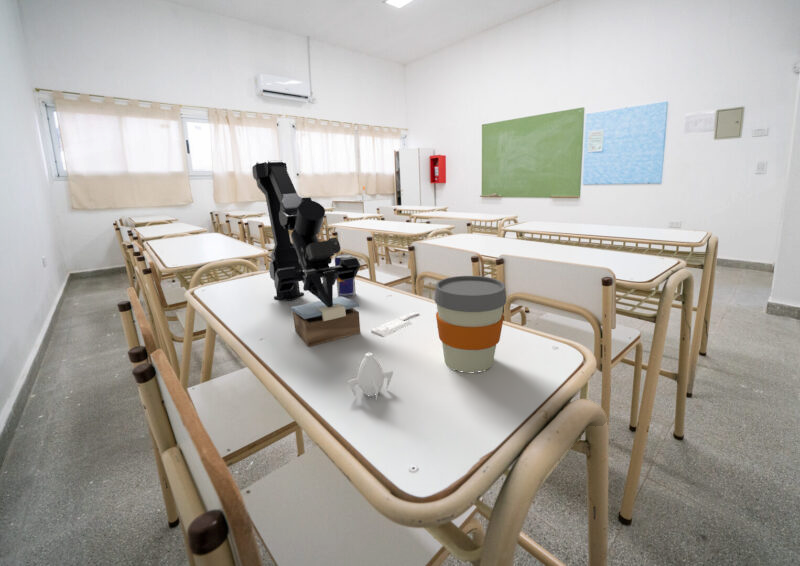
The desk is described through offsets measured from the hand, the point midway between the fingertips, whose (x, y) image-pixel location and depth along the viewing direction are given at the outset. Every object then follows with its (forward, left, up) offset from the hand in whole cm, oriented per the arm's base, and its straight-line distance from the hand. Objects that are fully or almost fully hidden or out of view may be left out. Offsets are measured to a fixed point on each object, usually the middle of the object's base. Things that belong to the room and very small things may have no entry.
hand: (330, 306), depth 79 cm
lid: (-2, -3, -3) cm, 4 cm away
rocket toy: (+16, +18, -8) cm, 25 cm away
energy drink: (-27, -14, -8) cm, 31 cm away
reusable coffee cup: (0, +30, -8) cm, 31 cm away
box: (-2, -3, -7) cm, 8 cm away
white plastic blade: (-12, +11, -8) cm, 18 cm away
